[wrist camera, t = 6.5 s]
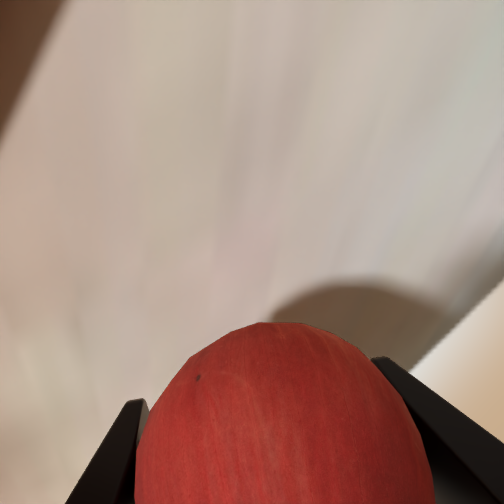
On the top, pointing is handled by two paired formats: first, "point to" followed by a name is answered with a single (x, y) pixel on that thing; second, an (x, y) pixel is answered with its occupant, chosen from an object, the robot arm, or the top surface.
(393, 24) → the top surface
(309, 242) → the top surface
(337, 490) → the onion
